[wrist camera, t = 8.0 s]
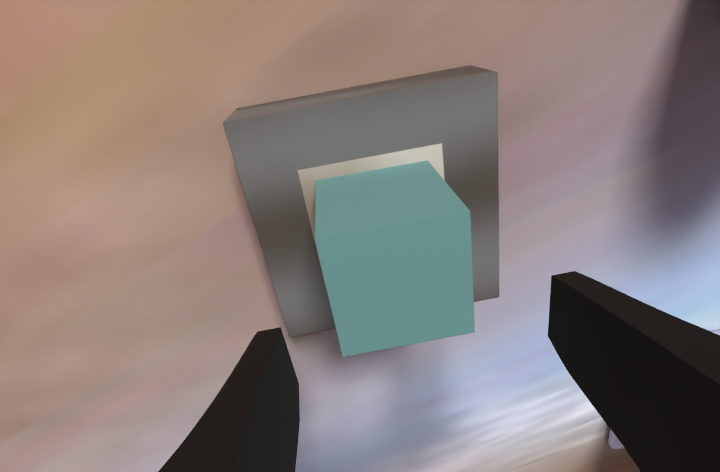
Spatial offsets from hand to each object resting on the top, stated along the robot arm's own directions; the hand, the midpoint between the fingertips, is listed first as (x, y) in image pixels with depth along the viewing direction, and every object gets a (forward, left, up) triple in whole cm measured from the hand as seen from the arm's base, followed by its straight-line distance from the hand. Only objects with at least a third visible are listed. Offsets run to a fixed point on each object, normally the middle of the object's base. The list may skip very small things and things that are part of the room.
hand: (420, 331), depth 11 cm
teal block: (0, 0, -7) cm, 7 cm away
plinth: (0, 0, -10) cm, 10 cm away
